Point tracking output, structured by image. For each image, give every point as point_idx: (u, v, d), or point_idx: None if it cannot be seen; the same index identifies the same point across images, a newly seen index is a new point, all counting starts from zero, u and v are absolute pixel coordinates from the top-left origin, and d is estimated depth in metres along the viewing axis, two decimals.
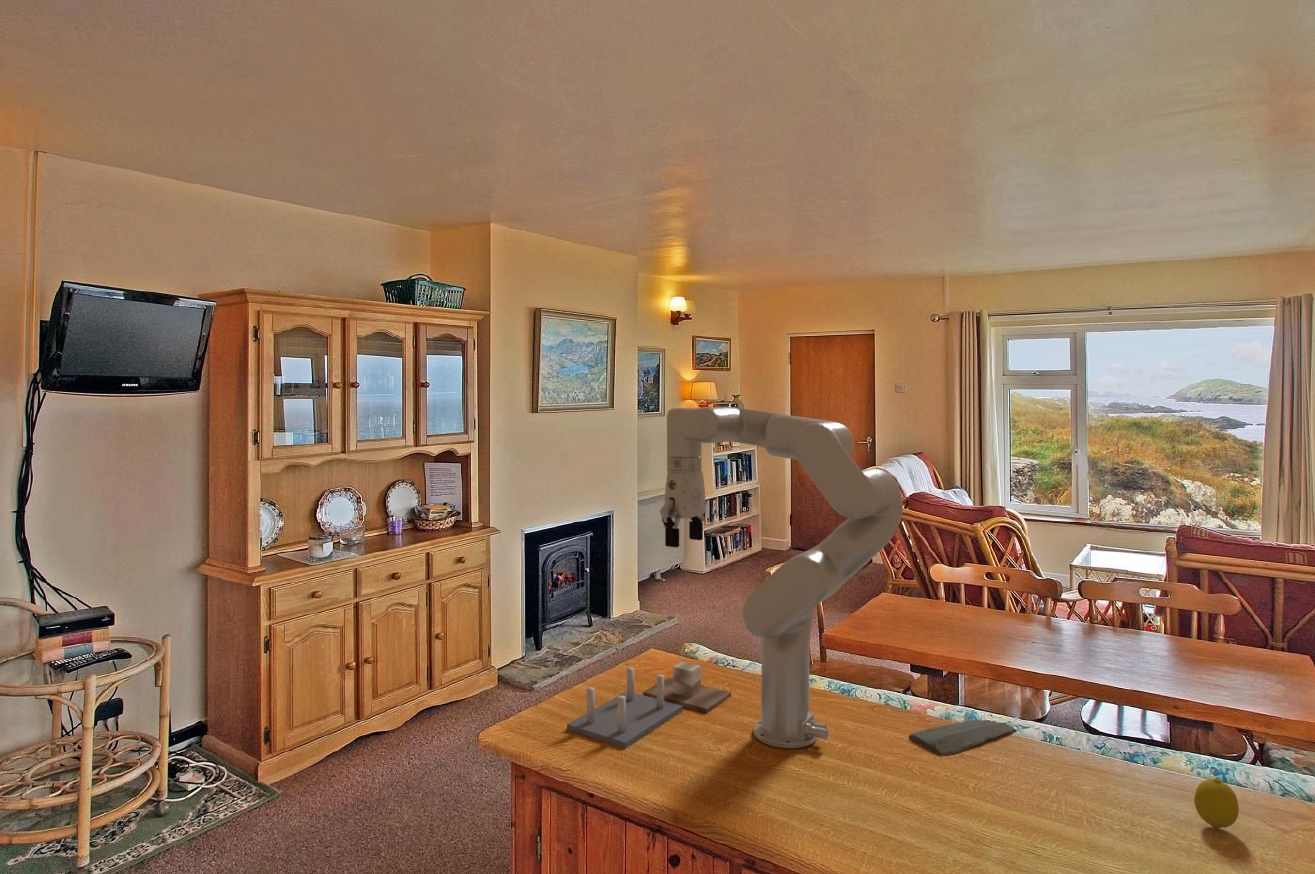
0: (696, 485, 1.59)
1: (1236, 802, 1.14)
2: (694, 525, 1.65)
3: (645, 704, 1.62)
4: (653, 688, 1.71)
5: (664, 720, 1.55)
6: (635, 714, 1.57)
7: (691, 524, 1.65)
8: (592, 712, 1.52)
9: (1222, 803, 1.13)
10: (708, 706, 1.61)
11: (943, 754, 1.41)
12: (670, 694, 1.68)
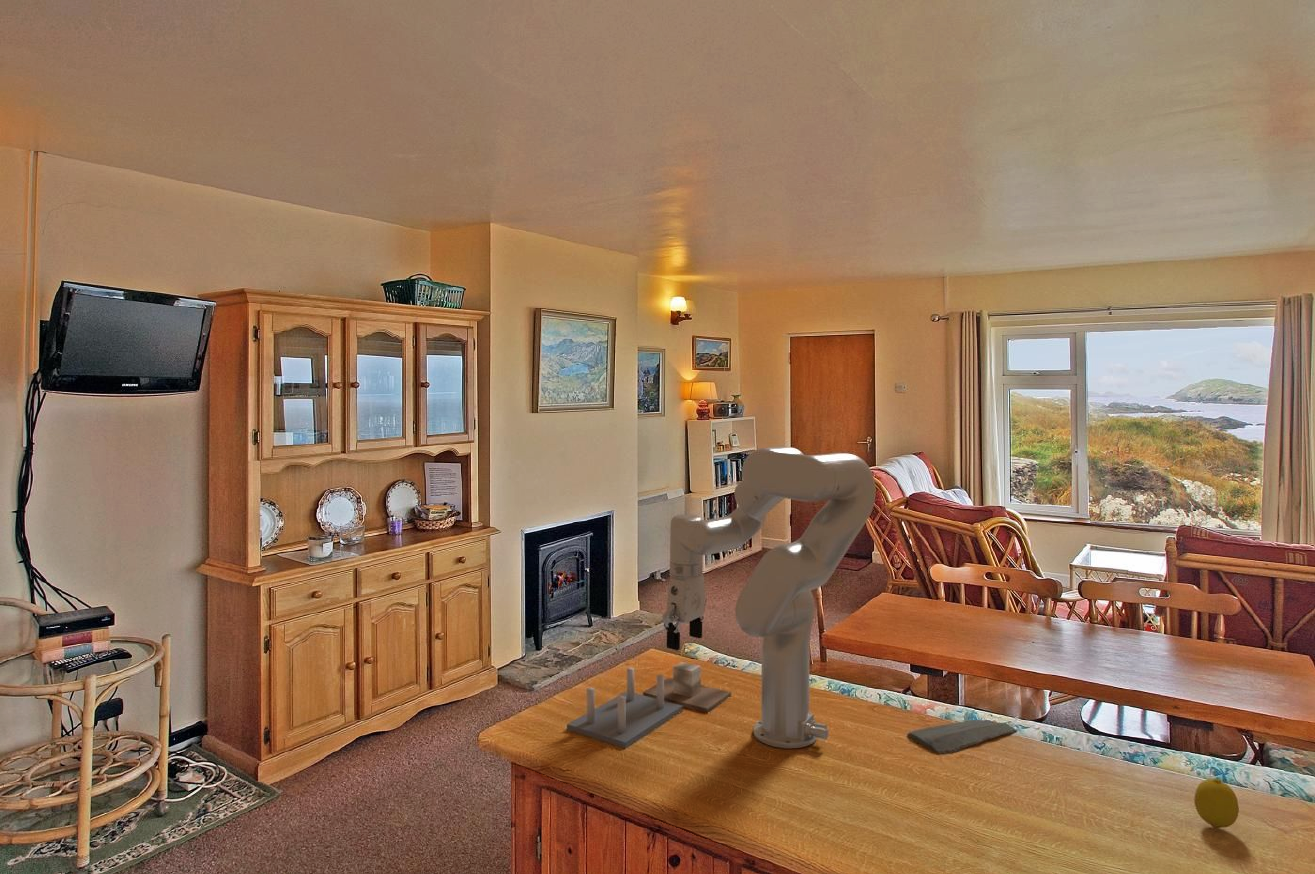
0: (697, 589, 1.67)
1: (1236, 802, 1.14)
2: (694, 623, 1.73)
3: (645, 704, 1.62)
4: (653, 688, 1.71)
5: (664, 720, 1.55)
6: (635, 714, 1.57)
7: (691, 622, 1.73)
8: (592, 712, 1.52)
9: (1222, 803, 1.13)
10: (708, 706, 1.61)
11: (940, 753, 1.41)
12: (670, 694, 1.68)
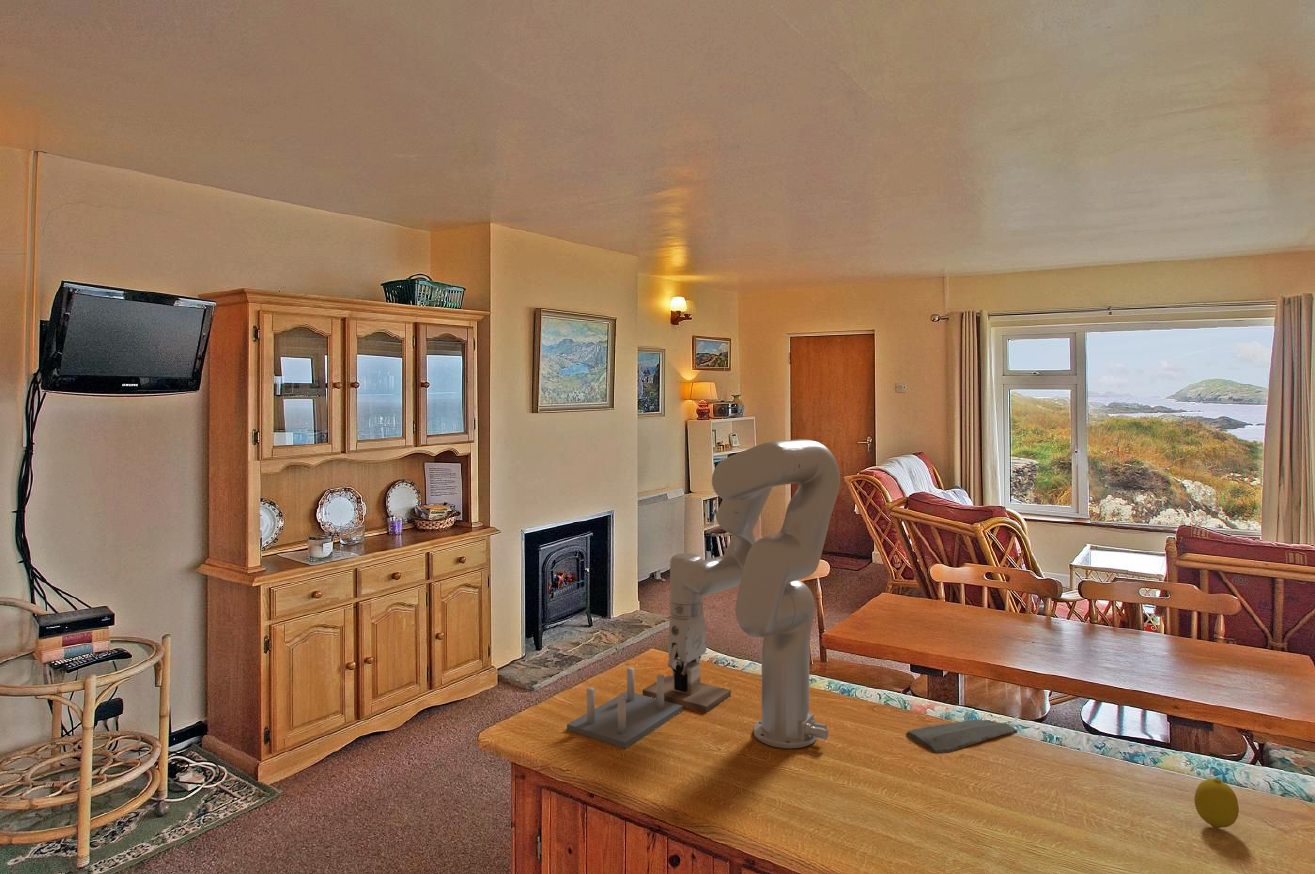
0: (698, 628, 1.68)
1: (1236, 802, 1.14)
2: None
3: (645, 704, 1.62)
4: (653, 686, 1.72)
5: (664, 720, 1.55)
6: (635, 714, 1.57)
7: None
8: (592, 712, 1.52)
9: (1222, 803, 1.13)
10: (707, 704, 1.61)
11: (937, 752, 1.42)
12: (670, 692, 1.68)
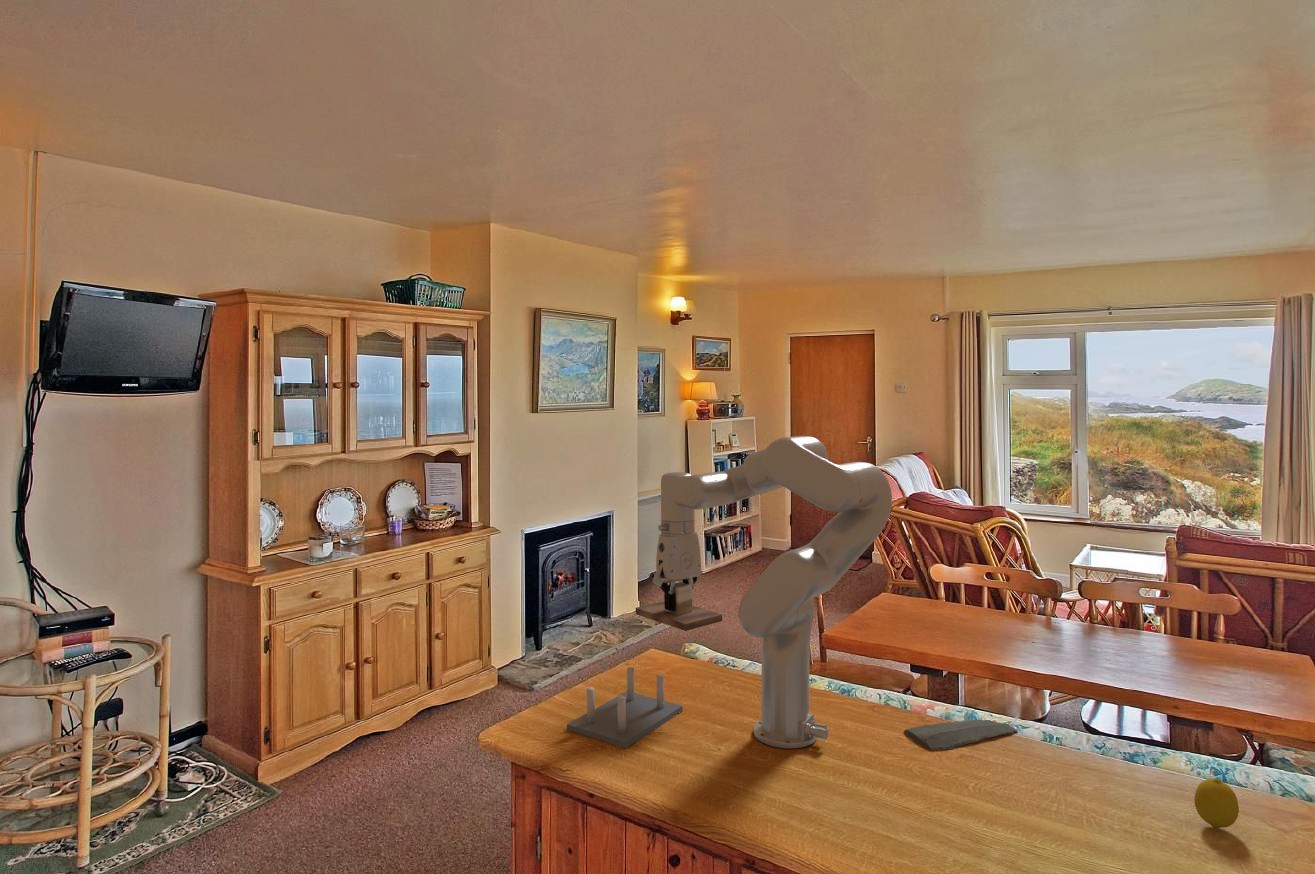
0: (687, 548, 1.64)
1: (1236, 802, 1.14)
2: None
3: (645, 704, 1.62)
4: (648, 606, 1.71)
5: (664, 720, 1.55)
6: (635, 714, 1.57)
7: None
8: (592, 712, 1.52)
9: (1222, 803, 1.13)
10: (688, 622, 1.57)
11: (933, 750, 1.42)
12: (660, 611, 1.66)
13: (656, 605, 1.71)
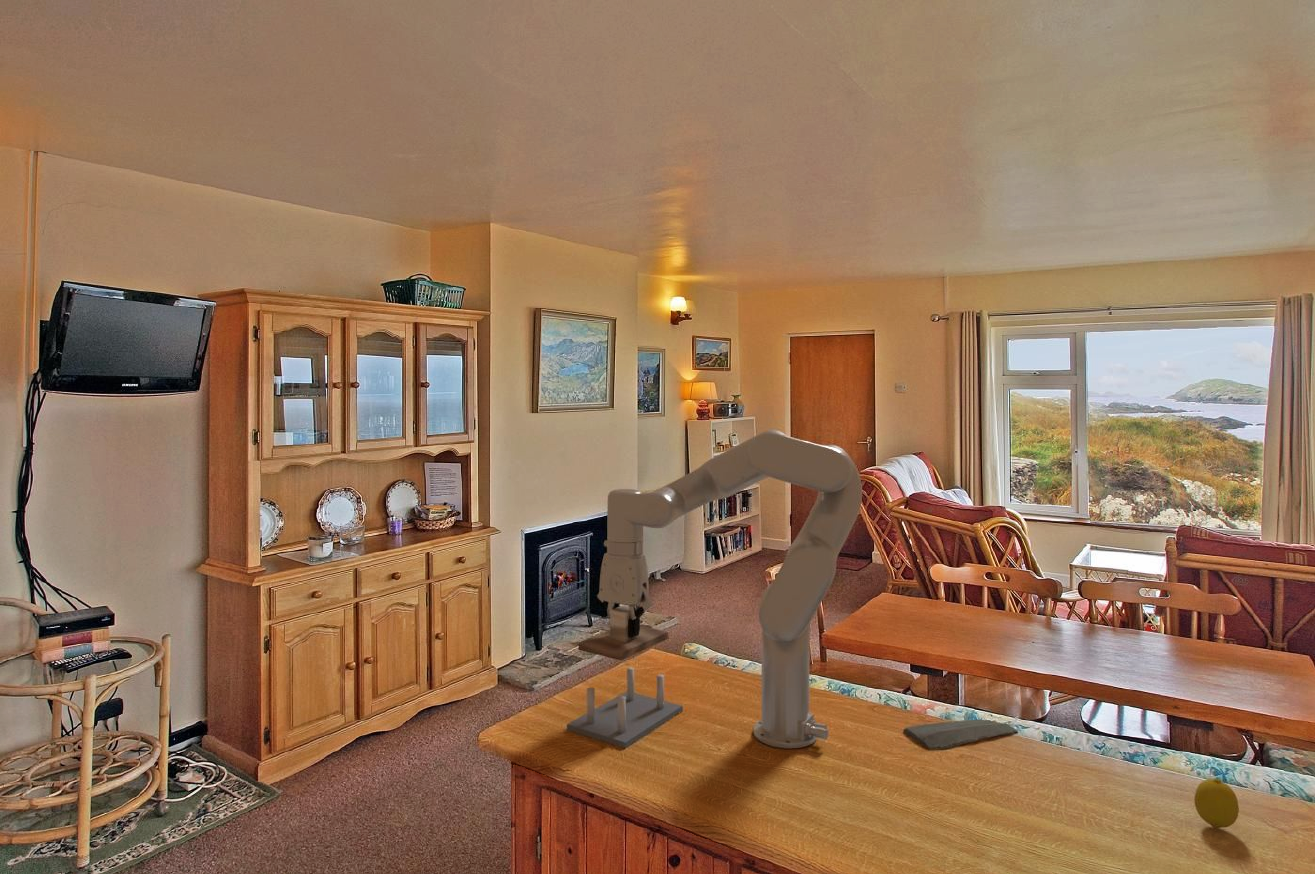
0: (618, 571, 1.53)
1: (1236, 802, 1.14)
2: None
3: (645, 704, 1.62)
4: None
5: (664, 720, 1.55)
6: (635, 714, 1.57)
7: None
8: (592, 712, 1.52)
9: (1222, 803, 1.13)
10: (583, 643, 1.52)
11: (931, 749, 1.43)
12: None
13: (640, 628, 1.62)
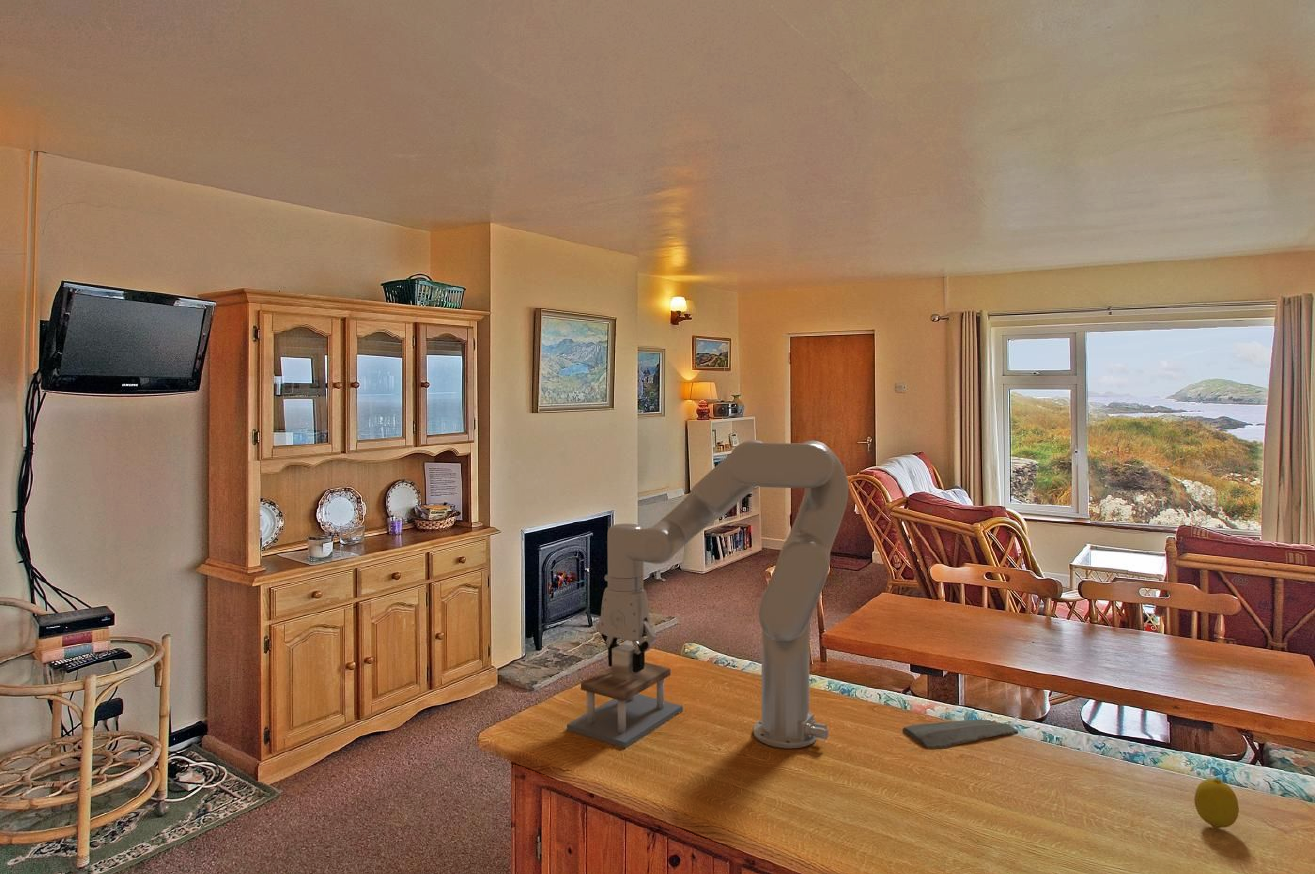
0: (619, 607, 1.53)
1: (1236, 802, 1.14)
2: None
3: (645, 704, 1.62)
4: None
5: (664, 720, 1.55)
6: (635, 714, 1.57)
7: None
8: (592, 712, 1.52)
9: (1222, 803, 1.13)
10: (585, 682, 1.52)
11: (929, 748, 1.43)
12: None
13: None
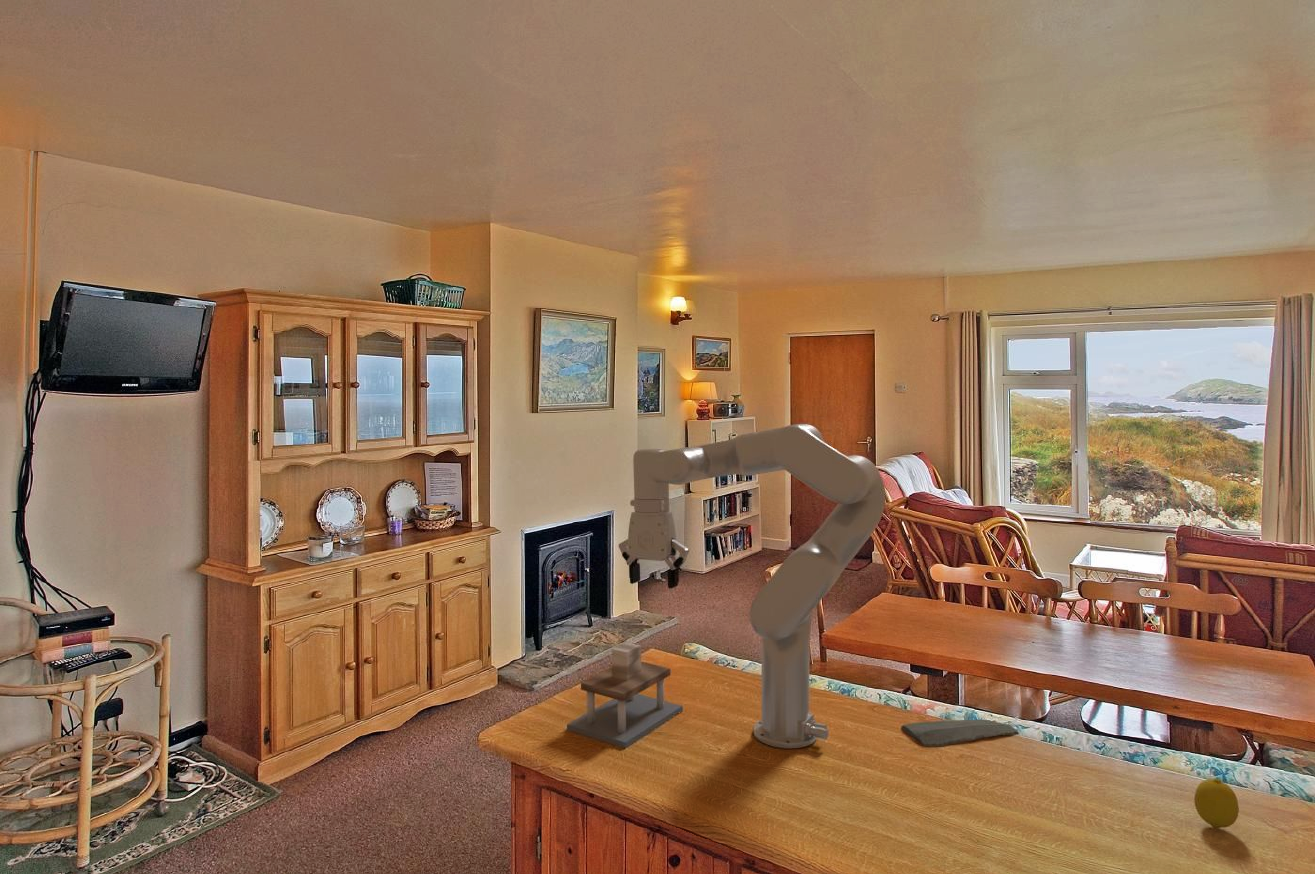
0: (647, 528, 1.57)
1: (1236, 802, 1.14)
2: None
3: (645, 704, 1.62)
4: None
5: (664, 720, 1.55)
6: (635, 714, 1.57)
7: None
8: (592, 712, 1.52)
9: (1222, 803, 1.13)
10: (585, 682, 1.52)
11: (926, 746, 1.44)
12: None
13: (642, 665, 1.62)
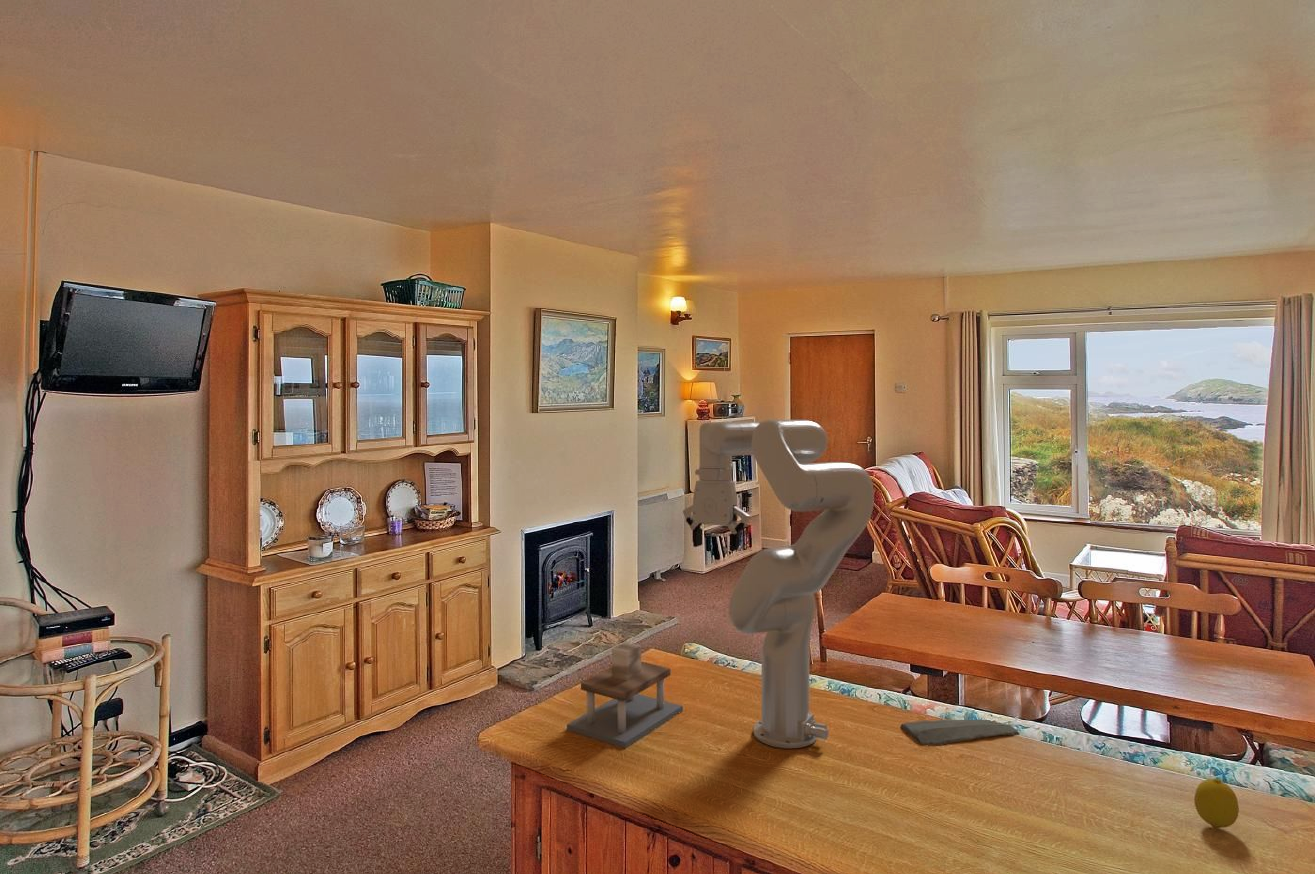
0: (711, 495, 1.70)
1: (1236, 802, 1.14)
2: None
3: (645, 704, 1.62)
4: None
5: (664, 720, 1.55)
6: (635, 714, 1.57)
7: None
8: (592, 712, 1.52)
9: (1222, 803, 1.13)
10: (585, 682, 1.52)
11: (924, 744, 1.45)
12: None
13: (642, 665, 1.62)
